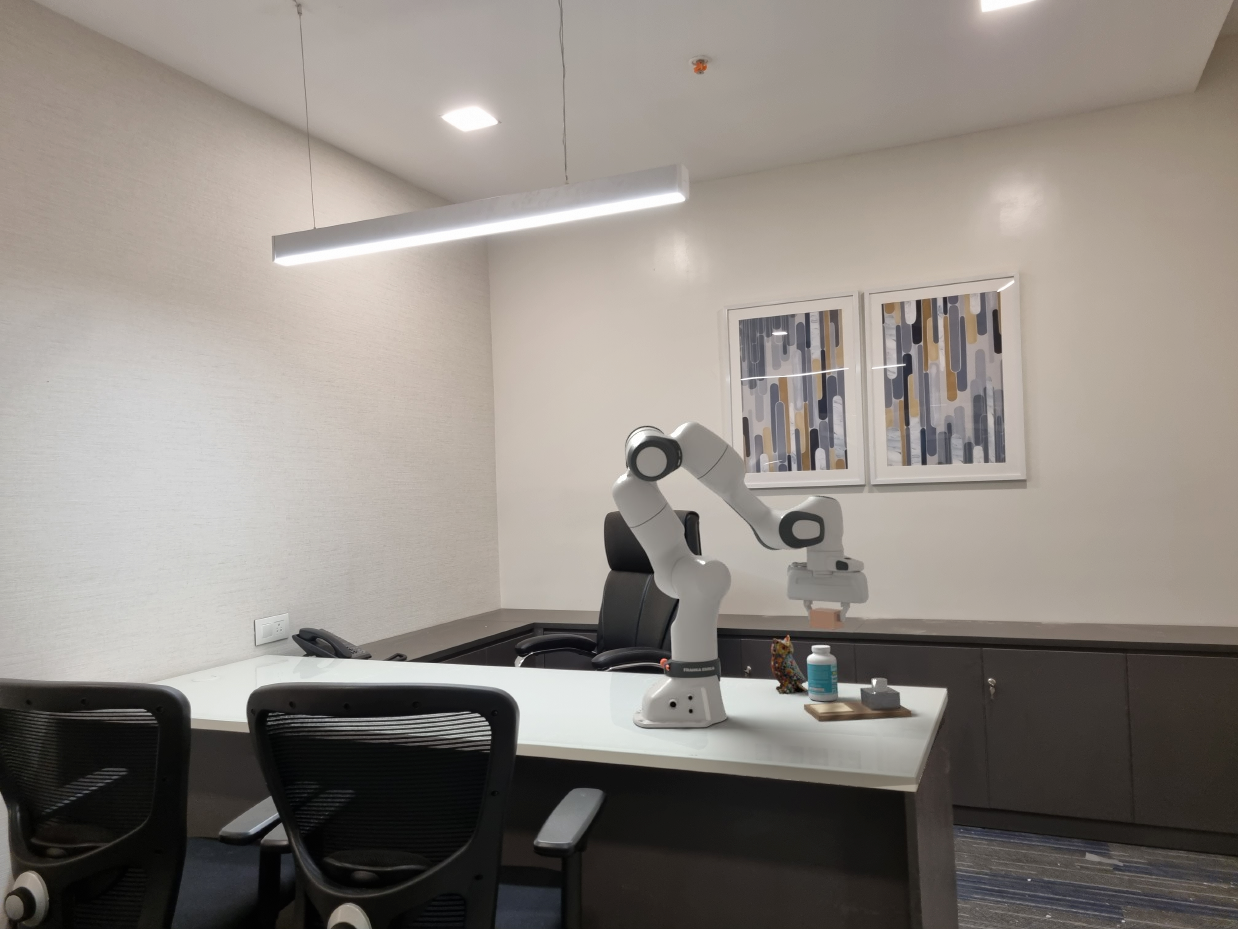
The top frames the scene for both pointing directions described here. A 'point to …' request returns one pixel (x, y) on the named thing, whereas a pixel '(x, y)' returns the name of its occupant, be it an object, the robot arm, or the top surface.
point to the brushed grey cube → (880, 696)
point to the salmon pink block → (825, 618)
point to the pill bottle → (822, 674)
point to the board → (851, 711)
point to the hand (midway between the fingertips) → (826, 620)
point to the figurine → (786, 667)
